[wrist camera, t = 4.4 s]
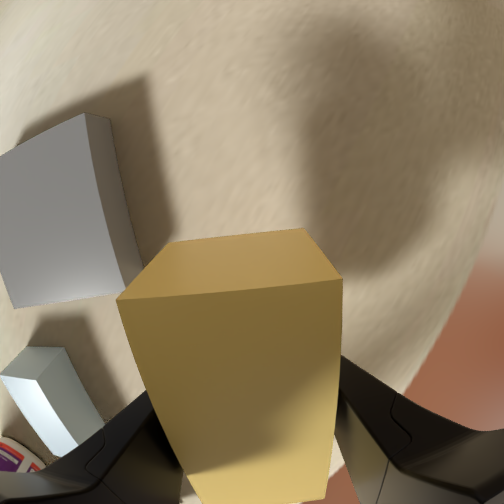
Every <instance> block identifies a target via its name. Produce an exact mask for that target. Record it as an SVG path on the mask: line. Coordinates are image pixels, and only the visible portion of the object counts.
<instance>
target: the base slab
mask: <svg viewBox="0 0 504 504" xmlns="http://www.w3.org/2000/svg"><path fill="white" fill-rule="evenodd" d="M143 269H144V266H143V263H142V260H141V256H140V253H139V249H138V246H137V242H136V238H135V235H134V231H133V227H132V223H131V219H130V215H129V211H128V207H127V203H126V199H125V194H124V190H123V186H122V181H121V176H120V172H119V167H118V162H117V157H116V151H115V146H114V141H113V135H112V129H111V123H110V119H108V118H104V117H100V116H96V115H92V114H88V113H82V114H80V115H78V116H75V117H73V118H71V119H69V120H67V121H64V122H62V123H60V124H58V125H56V126H54V127H52V128H50V129H48V130H46V131H44V132H42V133H40V134H38V135H36V136H35V137H33V138H31V139H29V140H27V141H25V142H24V143H22V144H20V145H18V146H16V147H15V148H13V149H11V150H10V151H8V152H6V153H5V154H3V155H1V156H0V272H1V275H2V278H3V281H4V284H5V286H6V289H7V292H8V294H9V297H10V300H11V302H12V305H13V307H14V309H17V308H24V307H31V306H38V305H45V304H51V303H58V302H65V301H71V300H78V299H84V298H91V297H97V296H103V295H110V294H116V293H122V292H123V291H124V290H125V289H126V288H127V287H128V286H129V284H130V283H131V282H132V281H133V280H134V279H135V278H136V277H137V276H138V275H139V274H140V272H141V271H142V270H143Z"/></svg>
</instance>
